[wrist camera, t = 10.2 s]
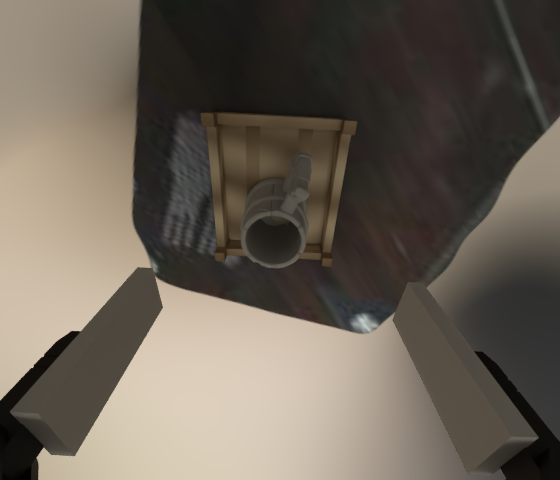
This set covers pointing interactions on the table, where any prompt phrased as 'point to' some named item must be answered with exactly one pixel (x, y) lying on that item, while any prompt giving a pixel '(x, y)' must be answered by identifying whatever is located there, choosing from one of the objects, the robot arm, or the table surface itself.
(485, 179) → the table surface
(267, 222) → the mug
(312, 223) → the wooden tray
